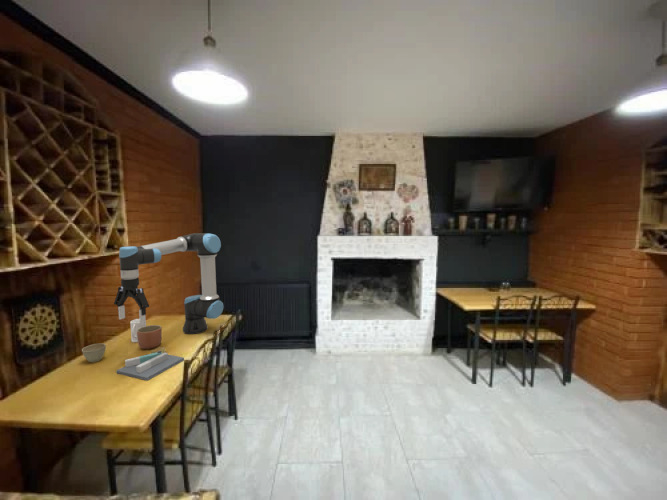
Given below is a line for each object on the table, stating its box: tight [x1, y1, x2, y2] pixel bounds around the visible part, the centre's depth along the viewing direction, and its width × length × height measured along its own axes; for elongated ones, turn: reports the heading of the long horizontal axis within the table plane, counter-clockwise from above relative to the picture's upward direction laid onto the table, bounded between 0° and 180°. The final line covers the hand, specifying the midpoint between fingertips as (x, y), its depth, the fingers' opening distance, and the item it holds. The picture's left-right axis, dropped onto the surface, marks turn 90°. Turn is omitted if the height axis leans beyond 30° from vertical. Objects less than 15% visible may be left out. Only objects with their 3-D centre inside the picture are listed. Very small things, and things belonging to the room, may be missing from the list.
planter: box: [137, 324, 163, 350], centre depth 184 cm, size 12×12×11 cm
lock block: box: [150, 346, 166, 354], centre depth 171 cm, size 6×4×3 cm, turn 160°
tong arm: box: [124, 352, 162, 367], centre depth 162 cm, size 16×2×3 cm, turn 128°
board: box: [115, 351, 185, 382], centre depth 161 cm, size 24×20×5 cm
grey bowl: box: [81, 343, 107, 363], centre depth 167 cm, size 10×10×7 cm
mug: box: [130, 318, 147, 343], centre depth 193 cm, size 12×8×12 cm
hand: (132, 320), depth 158 cm, fingers open, 13 cm apart
